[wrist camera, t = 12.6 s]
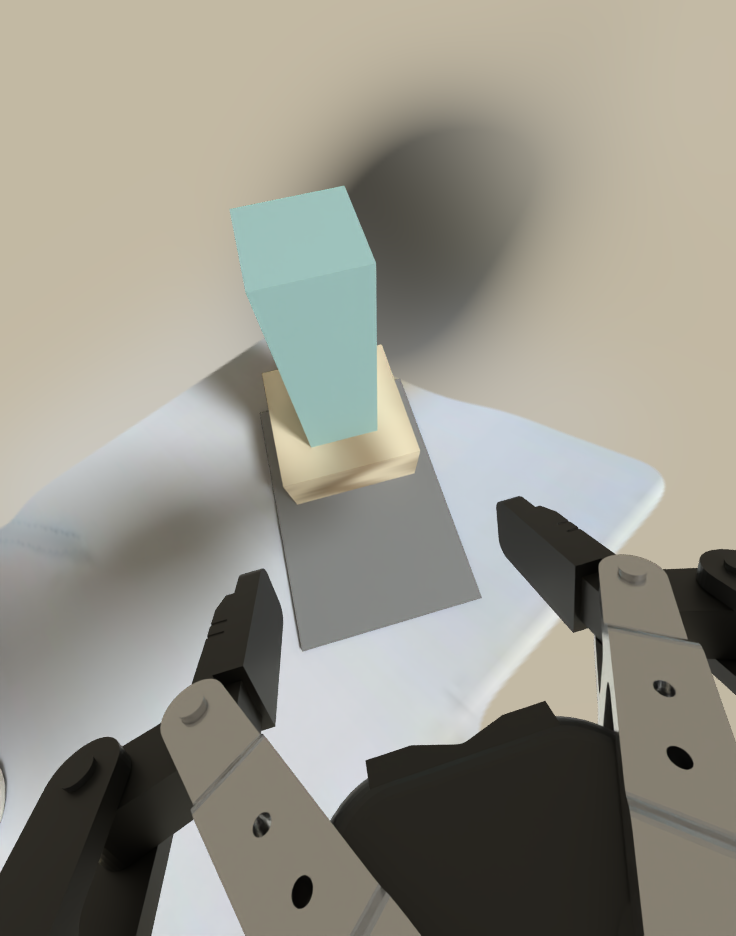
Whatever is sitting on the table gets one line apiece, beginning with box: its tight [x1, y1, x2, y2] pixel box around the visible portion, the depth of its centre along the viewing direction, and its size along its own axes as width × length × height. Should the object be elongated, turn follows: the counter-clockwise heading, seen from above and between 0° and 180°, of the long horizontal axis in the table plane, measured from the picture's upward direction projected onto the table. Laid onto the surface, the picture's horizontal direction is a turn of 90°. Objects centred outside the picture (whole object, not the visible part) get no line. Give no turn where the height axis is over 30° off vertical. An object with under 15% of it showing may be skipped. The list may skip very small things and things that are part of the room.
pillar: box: [230, 186, 377, 448], centre depth 18 cm, size 4×4×12 cm
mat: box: [260, 379, 482, 651], centre depth 26 cm, size 12×18×1 cm, turn 15°
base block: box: [262, 345, 420, 505], centre depth 25 cm, size 9×9×4 cm
